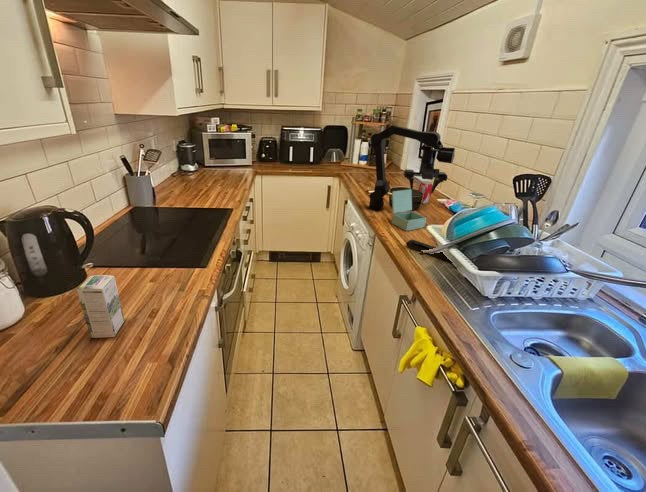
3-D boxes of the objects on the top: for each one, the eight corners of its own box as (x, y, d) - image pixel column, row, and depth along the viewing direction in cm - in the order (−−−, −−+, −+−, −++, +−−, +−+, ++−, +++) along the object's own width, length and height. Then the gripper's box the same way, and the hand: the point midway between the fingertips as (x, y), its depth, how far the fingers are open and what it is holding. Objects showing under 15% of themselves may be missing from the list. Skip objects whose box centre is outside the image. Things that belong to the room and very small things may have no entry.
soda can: (430, 204, 170) (434, 184, 166) (417, 203, 172) (421, 183, 167) (427, 200, 177) (432, 181, 172) (415, 199, 178) (419, 180, 173)
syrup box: (102, 322, 78) (88, 274, 72) (126, 321, 78) (114, 274, 73) (90, 338, 73) (74, 289, 67) (115, 337, 73) (102, 288, 67)
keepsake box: (424, 227, 141) (426, 217, 139) (405, 231, 136) (407, 221, 134) (409, 219, 149) (411, 210, 147) (391, 223, 144) (392, 213, 142)
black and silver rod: (405, 246, 122) (406, 240, 121) (408, 244, 124) (409, 238, 123) (452, 263, 111) (453, 256, 110) (454, 260, 113) (456, 253, 112)
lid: (411, 189, 145) (410, 189, 145) (393, 191, 140) (391, 191, 141) (412, 210, 146) (410, 209, 147) (393, 213, 142) (392, 213, 142)
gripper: (409, 162, 134) (403, 195, 140) (453, 165, 131) (445, 199, 137) (406, 157, 144) (400, 188, 150) (448, 160, 141) (440, 192, 147)
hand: (421, 192), depth 146 cm, fingers open, 9 cm apart
